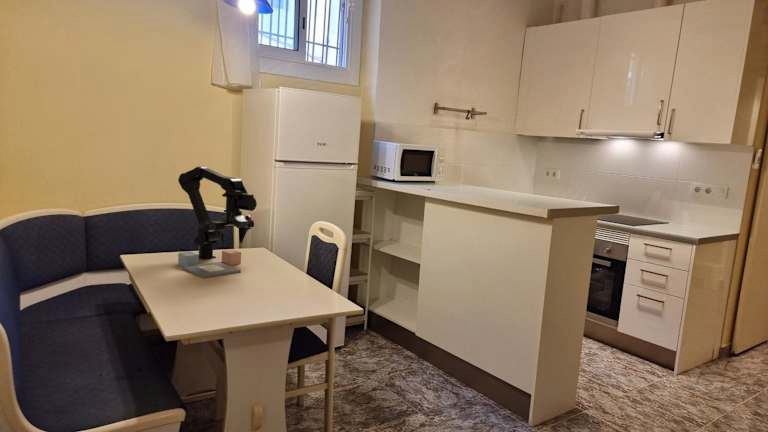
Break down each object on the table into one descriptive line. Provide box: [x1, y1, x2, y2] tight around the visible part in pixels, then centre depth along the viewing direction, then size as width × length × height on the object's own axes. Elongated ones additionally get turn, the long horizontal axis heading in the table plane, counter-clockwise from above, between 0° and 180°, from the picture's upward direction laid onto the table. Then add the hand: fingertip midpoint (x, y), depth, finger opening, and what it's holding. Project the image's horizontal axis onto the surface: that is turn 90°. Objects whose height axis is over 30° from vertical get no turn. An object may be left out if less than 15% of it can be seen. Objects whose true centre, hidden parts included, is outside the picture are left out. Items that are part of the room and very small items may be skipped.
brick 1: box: [177, 251, 199, 268], centre depth 210 cm, size 7×5×5 cm
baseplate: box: [182, 261, 242, 279], centre depth 204 cm, size 16×16×1 cm
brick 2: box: [221, 248, 242, 266], centre depth 219 cm, size 7×5×5 cm
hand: (231, 244), depth 219 cm, fingers open, 9 cm apart
